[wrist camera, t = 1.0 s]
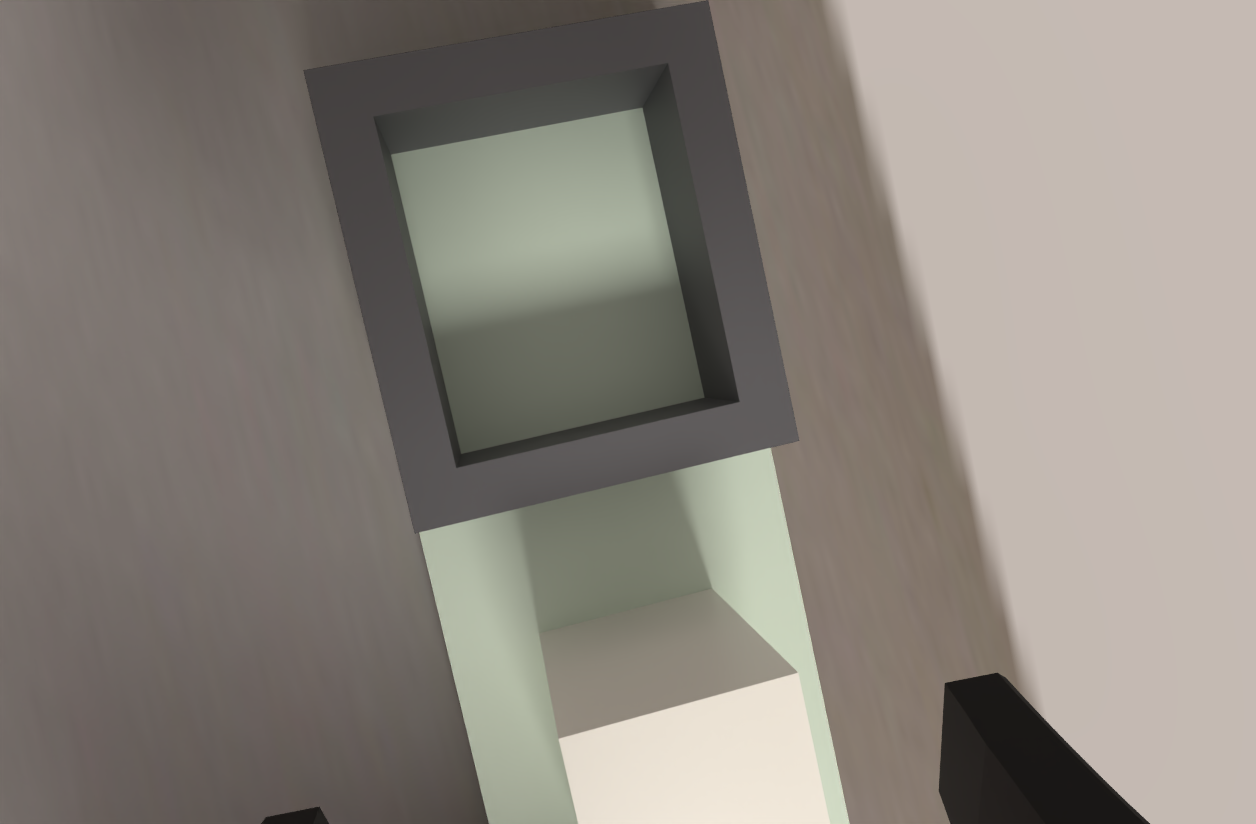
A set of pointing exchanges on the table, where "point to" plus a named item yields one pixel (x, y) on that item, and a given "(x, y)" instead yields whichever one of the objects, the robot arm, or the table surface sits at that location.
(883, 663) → the table surface
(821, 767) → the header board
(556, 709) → the plug
